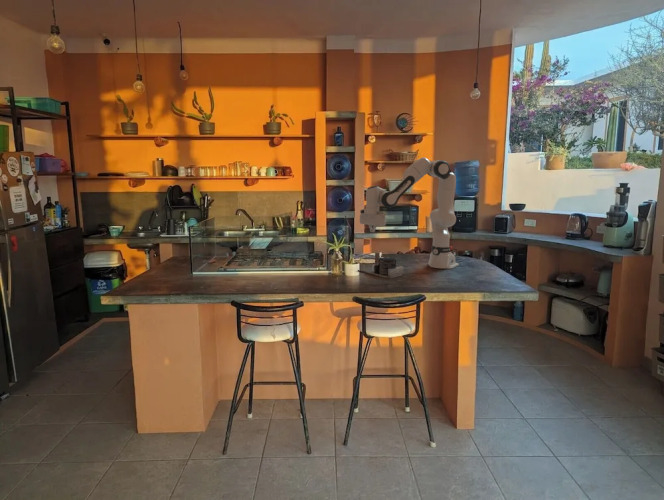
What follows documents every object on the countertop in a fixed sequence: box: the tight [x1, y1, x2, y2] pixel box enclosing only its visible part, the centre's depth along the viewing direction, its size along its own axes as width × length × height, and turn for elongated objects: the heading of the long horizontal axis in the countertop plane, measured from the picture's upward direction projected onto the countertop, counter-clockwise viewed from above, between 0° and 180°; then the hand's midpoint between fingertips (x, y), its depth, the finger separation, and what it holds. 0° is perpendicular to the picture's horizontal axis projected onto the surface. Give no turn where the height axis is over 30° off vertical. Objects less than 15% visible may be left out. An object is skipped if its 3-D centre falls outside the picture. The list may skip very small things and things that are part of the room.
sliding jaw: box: [371, 252, 380, 274], centre depth 286 cm, size 12×4×12 cm, turn 133°
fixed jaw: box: [359, 265, 405, 279], centre depth 285 cm, size 16×26×6 cm, turn 43°
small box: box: [378, 257, 397, 277], centre depth 281 cm, size 11×6×10 cm, turn 85°
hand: (372, 232), depth 294 cm, fingers closed
